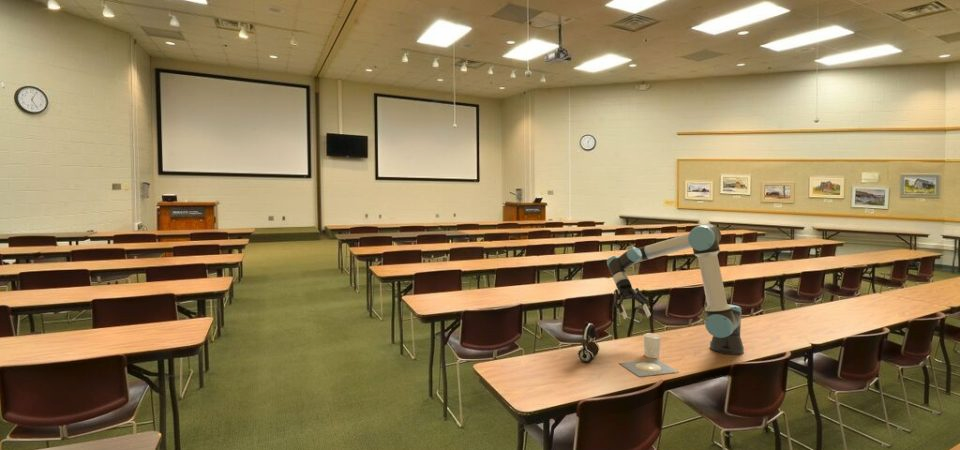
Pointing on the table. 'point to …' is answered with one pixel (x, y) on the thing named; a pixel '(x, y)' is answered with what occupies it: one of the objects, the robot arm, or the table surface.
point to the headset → (588, 343)
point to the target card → (648, 367)
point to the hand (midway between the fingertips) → (637, 316)
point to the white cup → (652, 345)
